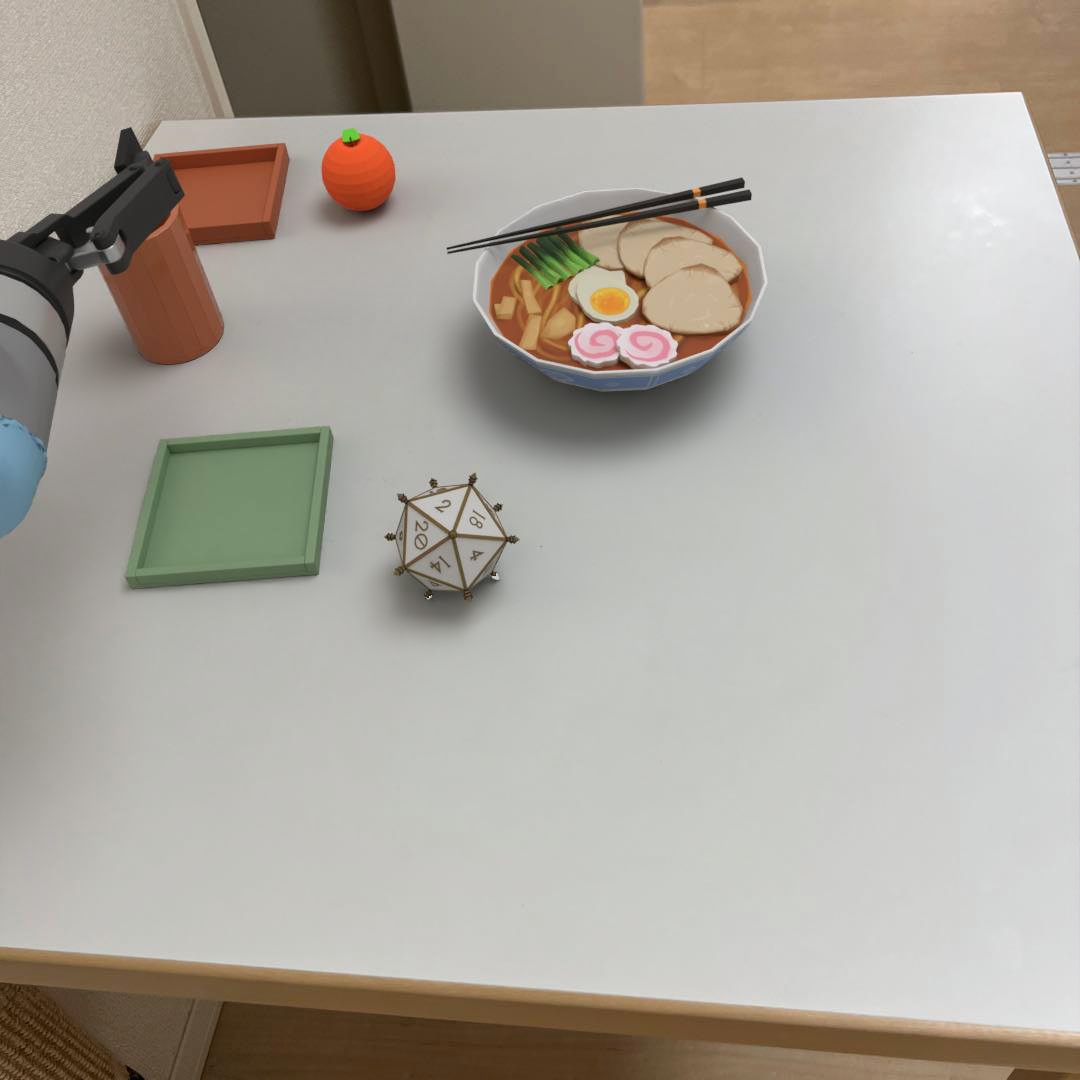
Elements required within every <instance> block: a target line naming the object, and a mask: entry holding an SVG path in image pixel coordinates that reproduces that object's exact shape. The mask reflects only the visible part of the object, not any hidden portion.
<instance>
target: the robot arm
mask: <svg viewBox="0 0 1080 1080" xmlns="http://www.w3.org/2000/svg"><path fill="white" fill-rule="evenodd" d="M113 169H114V171H115V173H116V175H115V176H113V177H111V179H109V180H107V181H106V182H105V183H104V184H102V185H101V186H100V187H98V188H97V189H96V190H94V191H93V192H92V193H90V194H89V195H88V196H86V197H85V198H83V199H82V200H81V201H79V202H78V203H77V204H75V205H74V206H73V207H71V208H70V209H69V210H67V211H66V212H64V213H54V212H53V213H52V212H51V213H50V214H47V215H46V216H45V217H43V218H42V219H41V220H39V221H38V222H36V223H35V224H34V225H32V226H31V227H30V228H28V229H27V230H26V231H18V232H15V233H14V234H12V236H10V237H9V238H7V239H0V539H2V538H4V537H6V536H7V535H9V534H10V533H12V531H14V530H16V529H17V527H18V526H20V524H22V522H23V521H24V520H25V518H26V516H27V515H28V513H29V512H30V509H31V507H32V504H33V501H34V499H35V495H36V493H37V490H38V488H39V484H40V481H41V480H42V478H43V476H44V475H45V472H46V471H47V467H48V466H47V465H48V462H49V461H48V449H49V443H50V437H51V430H52V426H53V419H54V414H55V409H56V404H57V399H58V392H59V388H60V383H61V378H62V373H63V370H64V369H63V368H64V365H65V364H64V363H65V359H66V354H67V348H68V345H69V342H70V341H69V340H70V336H71V332H72V326H73V323H74V318H75V295H74V286H75V284H76V283H77V282H79V280H81V278H82V276H83V275H84V272H85V270H86V269H90V268H95V267H97V266H98V265H102V264H104V265H105V266H106V267H107V269H108V271H109V273H110V274H112V275H116V274H119V273H122V272H124V271H125V270H126V269H128V267H129V264H130V262H131V259H132V256H133V253H134V252H135V251H136V250H137V249H138V248H139V246H140V245H141V244H142V243H143V242H144V241H145V240H146V239H147V237H148V236H149V235H150V234H151V233H152V232H153V231H154V230H155V229H156V227H157V226H158V225H159V224H160V223H161V222H162V221H163V220H164V218H165V217H166V216H167V215H168V214H169V213H170V212H171V211H172V209H173V208H174V207H175V206H176V205H177V204H178V203H179V202H180V201H181V199H182V198H183V197H184V196H185V193H184V191H183V189H182V187H181V185H180V183H179V181H178V179H177V177H176V175H175V173H174V170H173V168H172V166H171V164H170V162H169V160H168V159H165V158H163V159H158V160H156V161H155V162H153V157H152V156H151V154H150V152H149V151H148V150H147V149H145V150H143V148H142V146H141V144H140V142H139V140H138V137H137V136H136V134H135V131H134V130H133V128H132V126H129V127H126V128H123V129H121V130H120V132H119V138H118V143H117V148H116V153H115V159H114V163H113ZM53 233H55V235H56V236H57V238H55V237H52V236H51V235H52V234H53Z"/></svg>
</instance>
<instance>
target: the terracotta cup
mask: <svg viewBox="0 0 1080 1080" xmlns="http://www.w3.org/2000/svg"><path fill="white" fill-rule="evenodd" d="M96 267H97V269H98V272H99V273H100V275H101V277H102V279H103V281H104V283H105V285H106V287H107V290H108V292H109V294H110V296H111V298H112V300H113V303H114V304H115V306H116V307H117V311H118V313H119V314H120V316H121V319H122V321H123V322H124V323H123V324H124V325H125V327H126V329H127V331H128V333H129V335H130V338H131V340H132V341H133V343H134V345H135V347H136V349H137V351H138V353H139V354H140V355H141V356H142V357H143V358H144V359H145V360H147V361H149V362H152V363H155V364H160V365H177V364H178V365H179V364H183V363H186V362H190V361H193V360H196V359H197V358H200V357H203V355H205V354H207V353H208V352H209V351H211V350H212V349H213V348H215V346H216V345H217V344H218V343H219V342H220V340H221V339H222V337H223V334H224V332H225V323H224V319H223V315H222V313H221V309H220V306H219V304H218V302H217V299H216V297H215V294H214V291H213V289H212V287H211V284H210V281H209V279H208V276H207V274H206V271H205V268H204V265H203V263H202V261H201V259H200V255H199V253H198V250H197V248H196V245H194V243H193V240H192V237H191V235H190V232H189V230H188V227H187V225H186V222H185V219H184V217H183V214H182V212H181V209H180V207H179V204H177V205H176V206H175V207H174V208H173V209H172V211H171V212H170V213H169V214H168V215H167V216H166V217H165V218H164V220H163V221H162V222H161V223H160V224H159V225H158V226H157V227H156V229H155V230H154V231H153V232H152V233H151V234H150V235H149V236H148V237H147V239H146V240H145V241H144V242H143V243H142V244H141V245H140V246H139V248H138V249H137V250H136V251H135V252H134V253H133V256H132V259H131V262H130V264H129V267H128V269H126V270H125V271H124V272H122V273H119V274H116V275H112V274H110V273H109V271H108V269H107V267H106V266H105V265H104V264H102V265H98V266H96Z"/></svg>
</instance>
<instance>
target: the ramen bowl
mask: <svg viewBox="0 0 1080 1080" xmlns="http://www.w3.org/2000/svg"><path fill="white" fill-rule="evenodd" d="M745 186H746V180H745V179H744V178H743V177H742V176H741V177H738V178H737V177H736V178H733V179H729V180H725V181H721V182H716V183H713V184H709V185H704V186H700V187H697V188H691V189H688V190H683V191H678V192H669V191H663V190H658V189H651V188H645V187H641V186H636V187H619V188H603V189H587V190H582V191H577V192H575V193H573V194H569V195H566V196H563V197H560V198H559V197H558V198H556V199H553V200H549V201H546V202H544V203H541V204H538V205H535V206H534V207H532V208H530V209H529V210H527V211H526V212H524V213H523V214H521V215H520V216H518V217H517V218H515V219H513V220H512V221H510V222H509V223H507V224H506V225H504V226H502V227H501V228H500V229H497V231H496V232H495V234H494V235H493V236H490V237H485V238H481V239H477V240H472V241H468V242H464V243H461V244H456V245H452V246H447V247H446V250H447V253H446V254H447V255H449V254H450V255H451V254H456V253H460V252H467V251H473V250H478V249H483V248H485V249H484V250H483V251H482V252H481V254H480V256H479V258H478V259H477V260H476V262H475V264H474V275H473V289H472V301H473V303H474V305H475V306H476V308H477V309H478V311H479V313H480V314H481V316H482V317H483V320H484V321H485V323H486V324H487V326H488V327H489V330H490V331H491V332H492V334H493V335H494V336H495V338H496V339H497V340H498V341H499V342H500V343H501V345H502V346H503V347H504V348H505V349H506V350H508V351H509V352H511V353H512V354H513V355H515V356H516V357H517V358H519V359H520V360H522V361H523V362H525V363H527V364H528V365H530V366H531V367H533V368H534V369H536V370H538V371H539V372H541V373H543V374H544V375H546V376H547V377H548V378H550V379H552V380H554V381H556V382H558V383H562V384H566V385H570V386H575V387H579V388H584V389H588V390H591V391H592V390H593V391H596V392H602V393H603V392H604V393H605V392H606V393H607V392H623V391H624V392H625V391H626V392H627V391H643V390H645V391H646V390H647V391H648V390H650V389H652V388H656V387H658V386H661V385H664V384H667V383H669V382H672V381H675V380H678V379H680V378H683V377H686V376H689V375H690V374H692V373H695V372H696V371H698V370H700V368H701V367H703V366H704V365H706V363H708V362H709V361H710V360H711V359H713V358H714V357H715V356H716V355H717V354H719V353H721V351H723V350H724V349H725V348H727V347H728V346H729V345H731V343H733V342H734V341H735V340H736V339H737V338H738V337H739V336H741V335H742V334H743V333H744V331H745V330H747V328H748V326H749V325H750V324H751V323H752V321H753V320H754V318H755V315H756V313H757V310H758V308H759V306H760V304H761V302H762V299H763V296H764V293H765V292H766V289H767V286H768V284H769V279H768V274H767V270H766V264H765V259H764V254H763V250H762V246H761V244H759V242H758V241H757V240H756V239H755V238H754V237H753V236H752V235H751V234H750V233H749V232H748V231H747V229H745V228H744V226H743V225H742V224H741V223H739V221H738V220H737V219H736V218H735V217H734V216H733V215H731V214H729V213H727V212H725V211H722V210H720V209H718V208H717V207H721V206H727V205H732V204H737V203H742V202H749V201H752V197H753V196H752V195H753V193H752V192H751V190H750V189H745V188H746V187H745ZM741 189H744V190H741ZM736 190H737V191H736ZM738 190H740V191H738ZM731 191H735V192H731ZM727 192H730V193H727ZM722 193H724V194H722ZM716 194H719V195H716ZM712 195H716V196H712ZM707 196H711V197H707ZM703 197H706V198H703ZM698 198H703V199H698ZM486 242H487V243H486ZM482 243H483V244H482ZM462 247H463V248H462ZM448 250H450V251H448Z"/></svg>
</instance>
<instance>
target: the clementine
mask: <svg viewBox="0 0 1080 1080" xmlns="http://www.w3.org/2000/svg"><path fill="white" fill-rule="evenodd" d="M320 168H321V171H320V172H321V180H322V183H323V185H324V187H325V190H326V192H327V193H328V195H329V196H330V197H331V199H332V200H333V201H334V202H336V203H337V204H338V205H340V206H342V207H343V208H344V209H347V210H350V211H356V212H366V211H370V210H373V209H375V208H377V207H379V206H381V205H382V204H383V203H385V202H386V201H387V200H388V198H389V197H390V195H391V193H392V192H393V191H394V186H395V183H396V176H397V175H396V165H395V161H394V159H393V156H392V155H391V152H389V150H388V148H387V147H386V146H385V144H384V143H382V142H381V141H379V140H378V139H376V138H375V137H374V136H371V135H368V134H364V133H358V131H357V130H356V128H354V127H350V128H346V129H343V130H342V131H341V136H340V137H338V138H337V139H336V140H334V141H333V142H331V144H329V146H328V148H327V150H326V151H325V153H324V154H323V156H322V161H321V167H320Z"/></svg>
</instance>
